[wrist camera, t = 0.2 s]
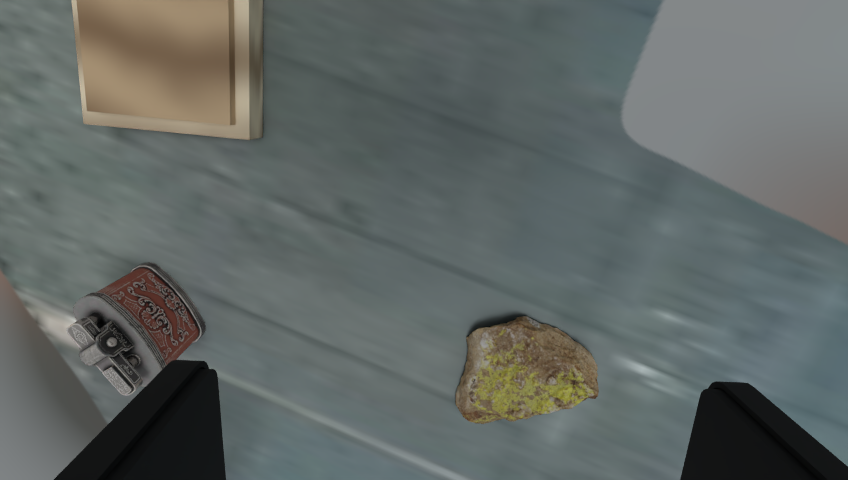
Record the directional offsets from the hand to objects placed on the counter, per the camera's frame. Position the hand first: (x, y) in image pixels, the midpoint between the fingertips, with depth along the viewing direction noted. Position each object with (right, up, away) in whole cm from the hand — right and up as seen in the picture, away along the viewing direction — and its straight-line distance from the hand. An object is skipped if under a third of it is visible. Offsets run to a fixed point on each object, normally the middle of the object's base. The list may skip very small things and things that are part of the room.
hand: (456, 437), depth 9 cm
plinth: (-19, +18, +27) cm, 37 cm away
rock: (+8, -7, +35) cm, 36 cm away
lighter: (-23, -2, +33) cm, 40 cm away
